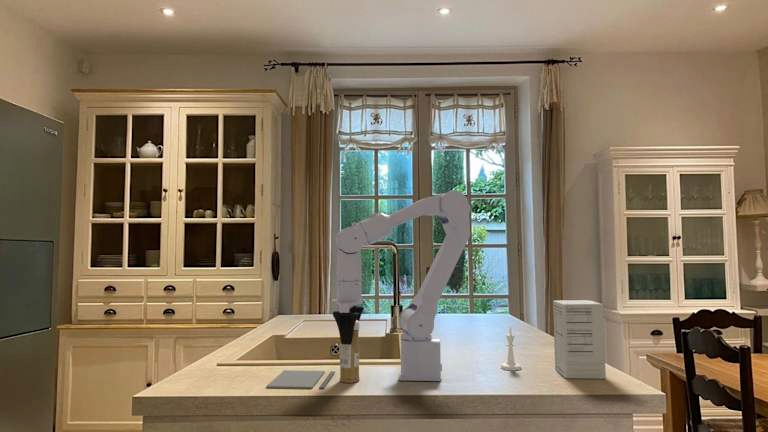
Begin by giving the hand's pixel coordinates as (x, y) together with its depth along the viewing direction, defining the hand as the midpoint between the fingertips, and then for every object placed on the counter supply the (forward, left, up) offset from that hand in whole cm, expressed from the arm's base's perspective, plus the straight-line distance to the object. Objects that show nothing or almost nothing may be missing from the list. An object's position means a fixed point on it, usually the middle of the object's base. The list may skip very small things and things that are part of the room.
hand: (349, 340), depth 121 cm
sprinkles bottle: (0, 0, -9) cm, 9 cm away
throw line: (+5, 0, -9) cm, 10 cm away
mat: (+12, 0, -9) cm, 15 cm away
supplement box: (-53, -9, -9) cm, 55 cm away
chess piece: (-38, -14, -9) cm, 42 cm away
